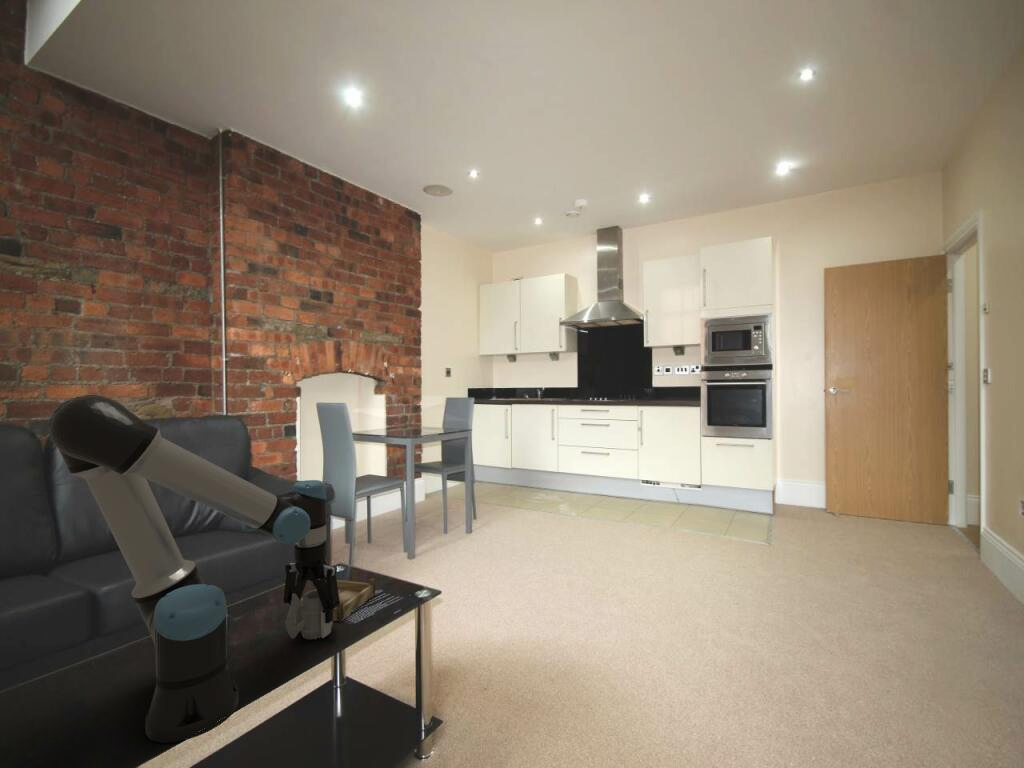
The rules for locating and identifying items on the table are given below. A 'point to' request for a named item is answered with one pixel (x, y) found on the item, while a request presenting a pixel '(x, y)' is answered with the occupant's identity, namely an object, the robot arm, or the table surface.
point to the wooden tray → (352, 596)
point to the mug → (306, 616)
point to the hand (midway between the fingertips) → (311, 632)
